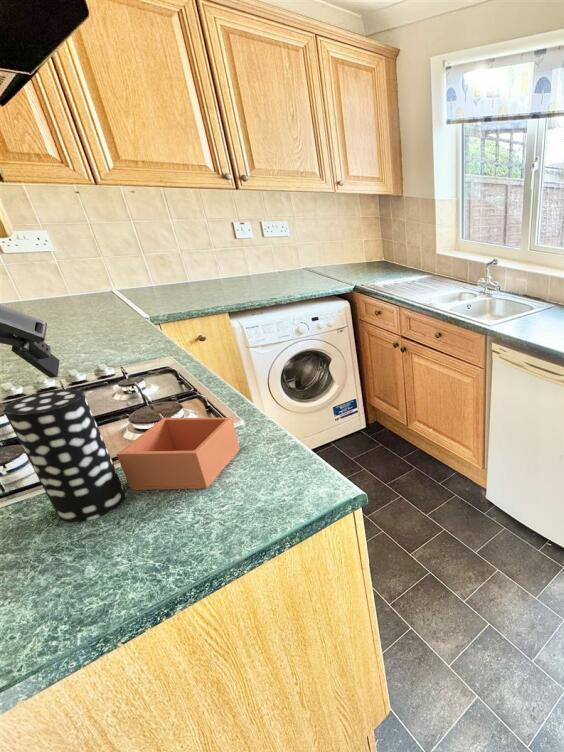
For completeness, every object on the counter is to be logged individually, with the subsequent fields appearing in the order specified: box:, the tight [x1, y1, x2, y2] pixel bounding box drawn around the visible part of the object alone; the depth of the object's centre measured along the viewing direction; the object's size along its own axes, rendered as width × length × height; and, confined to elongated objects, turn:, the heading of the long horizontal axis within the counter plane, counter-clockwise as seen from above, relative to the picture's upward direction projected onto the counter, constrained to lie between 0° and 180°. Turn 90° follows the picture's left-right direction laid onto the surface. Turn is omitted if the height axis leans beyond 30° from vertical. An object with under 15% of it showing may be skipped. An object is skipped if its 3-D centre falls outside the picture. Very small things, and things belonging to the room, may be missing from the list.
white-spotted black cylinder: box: [3, 388, 127, 524], centre depth 66 cm, size 8×8×20 cm
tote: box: [116, 417, 241, 491], centre depth 79 cm, size 13×13×8 cm
